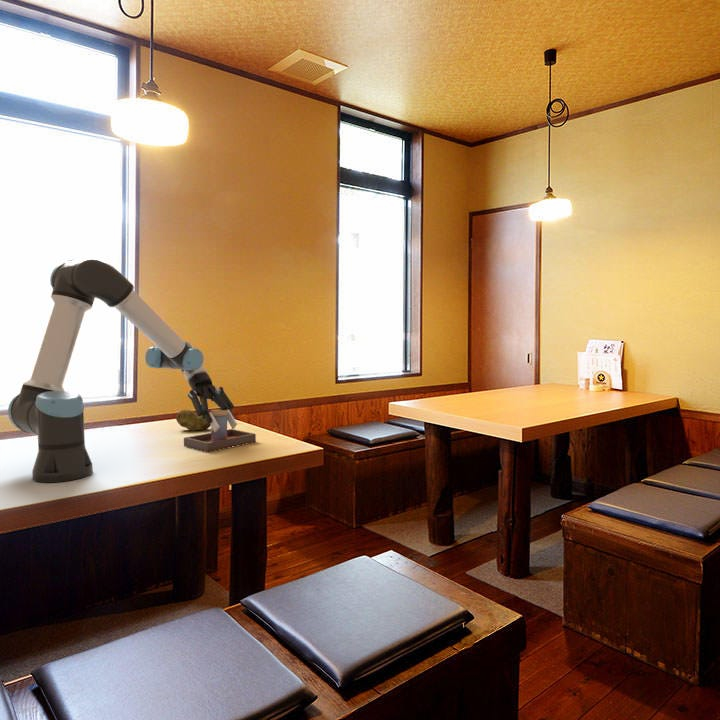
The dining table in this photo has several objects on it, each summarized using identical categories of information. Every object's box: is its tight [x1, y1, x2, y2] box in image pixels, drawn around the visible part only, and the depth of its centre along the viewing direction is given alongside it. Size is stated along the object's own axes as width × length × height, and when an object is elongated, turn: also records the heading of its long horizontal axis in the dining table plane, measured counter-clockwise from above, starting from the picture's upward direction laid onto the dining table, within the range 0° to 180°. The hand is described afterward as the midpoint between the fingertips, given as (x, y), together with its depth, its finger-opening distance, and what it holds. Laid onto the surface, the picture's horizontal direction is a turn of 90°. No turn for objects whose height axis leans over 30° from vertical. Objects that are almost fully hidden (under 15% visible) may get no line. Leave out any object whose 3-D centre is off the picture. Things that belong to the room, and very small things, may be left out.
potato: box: [175, 409, 211, 432], centre depth 225 cm, size 8×13×8 cm, turn 74°
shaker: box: [210, 409, 228, 442], centre depth 199 cm, size 6×6×11 cm
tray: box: [183, 428, 257, 453], centre depth 199 cm, size 20×14×3 cm
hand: (226, 427), depth 197 cm, fingers open, 7 cm apart
